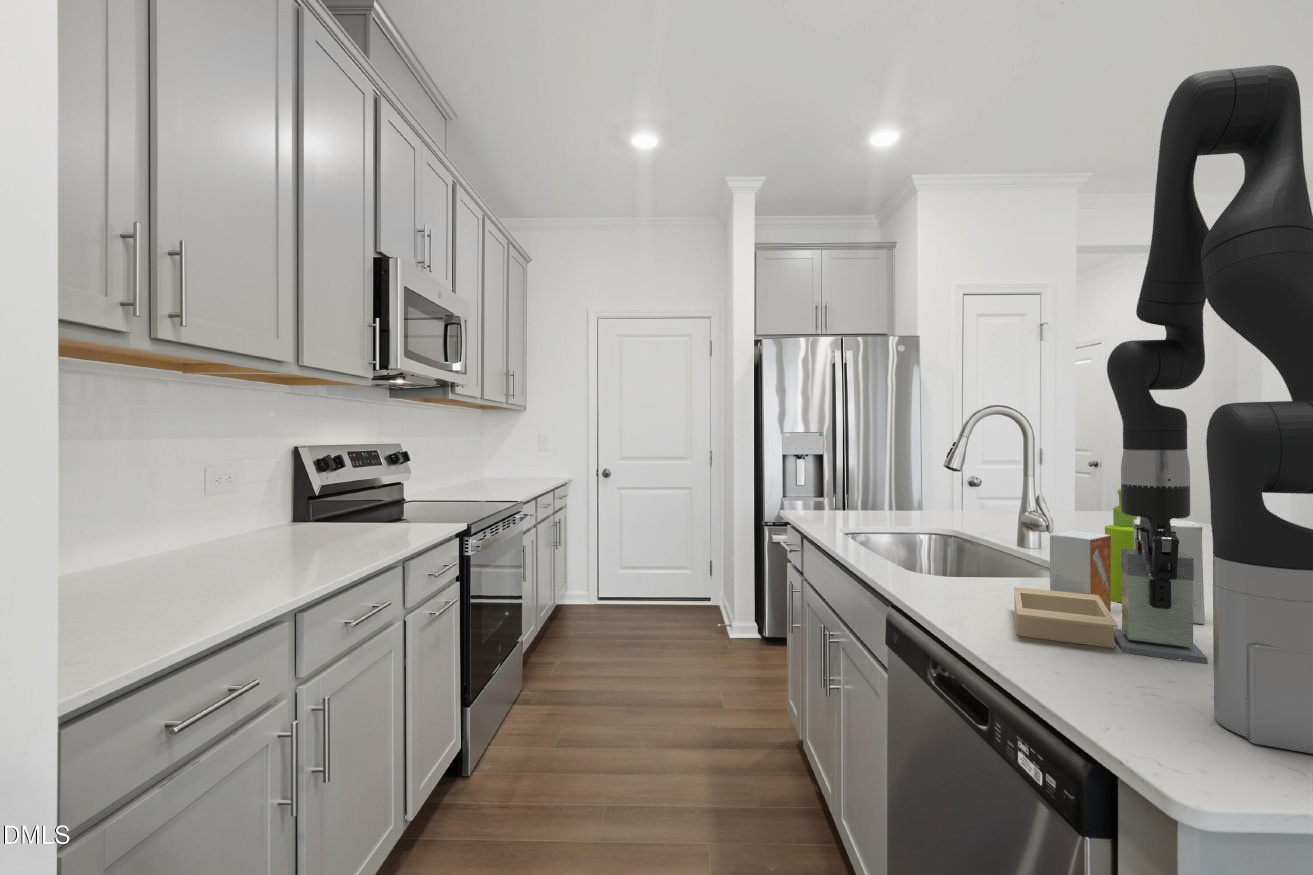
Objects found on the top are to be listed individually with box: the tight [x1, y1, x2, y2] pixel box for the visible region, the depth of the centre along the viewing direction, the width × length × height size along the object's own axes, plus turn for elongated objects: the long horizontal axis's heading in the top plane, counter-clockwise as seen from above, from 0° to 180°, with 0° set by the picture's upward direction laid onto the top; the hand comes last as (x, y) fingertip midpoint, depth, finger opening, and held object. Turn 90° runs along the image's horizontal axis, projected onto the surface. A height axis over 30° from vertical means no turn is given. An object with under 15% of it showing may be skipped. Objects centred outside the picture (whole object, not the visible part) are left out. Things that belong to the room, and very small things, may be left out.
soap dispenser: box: [1104, 488, 1138, 604], centre depth 110 cm, size 6×7×20 cm
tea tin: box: [1121, 548, 1194, 647], centre depth 85 cm, size 5×7×12 cm, turn 61°
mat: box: [1114, 628, 1209, 665], centre depth 86 cm, size 9×9×1 cm
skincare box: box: [1133, 519, 1206, 625], centre depth 100 cm, size 8×7×16 cm
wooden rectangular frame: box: [1013, 586, 1119, 649], centre depth 94 cm, size 18×12×4 cm, turn 151°
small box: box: [1049, 530, 1112, 612], centre depth 104 cm, size 8×6×13 cm
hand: (1155, 602), depth 86 cm, fingers open, 5 cm apart
